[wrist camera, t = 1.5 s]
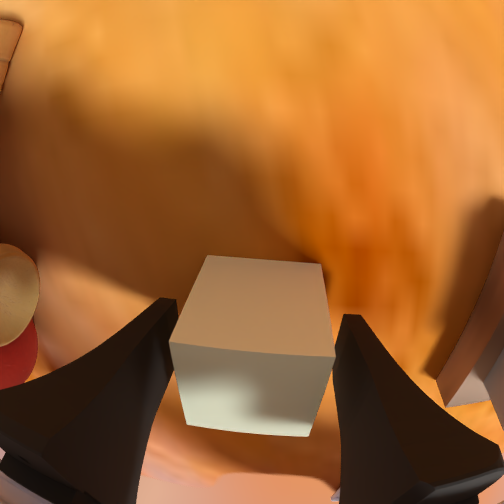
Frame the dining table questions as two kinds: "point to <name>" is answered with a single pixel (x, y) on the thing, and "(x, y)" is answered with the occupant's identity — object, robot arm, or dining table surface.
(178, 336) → the sage block
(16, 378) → the kendama
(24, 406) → the robot arm
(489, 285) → the walnut slab
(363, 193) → the dining table surface
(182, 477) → the dining table surface
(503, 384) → the slate cube
